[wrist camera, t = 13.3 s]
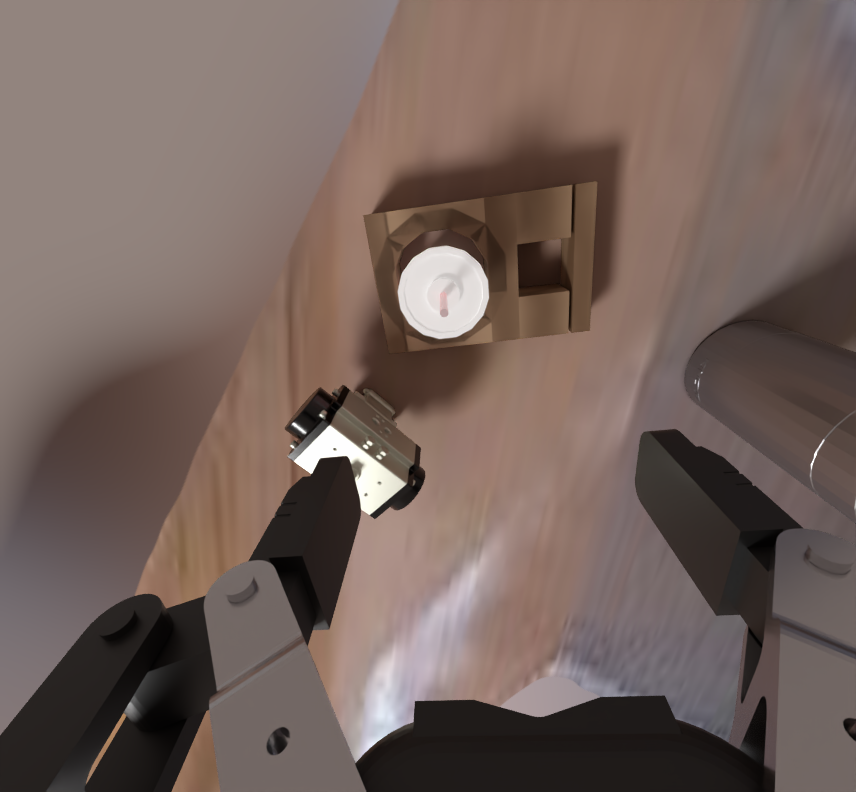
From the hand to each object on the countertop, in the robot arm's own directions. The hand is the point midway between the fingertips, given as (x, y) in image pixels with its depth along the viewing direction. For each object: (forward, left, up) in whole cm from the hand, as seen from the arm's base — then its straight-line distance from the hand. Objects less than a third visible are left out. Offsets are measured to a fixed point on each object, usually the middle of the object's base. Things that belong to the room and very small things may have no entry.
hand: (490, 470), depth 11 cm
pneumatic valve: (+9, +10, -26) cm, 30 cm away
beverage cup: (+1, -2, -26) cm, 26 cm away
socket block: (-2, -2, -26) cm, 26 cm away
